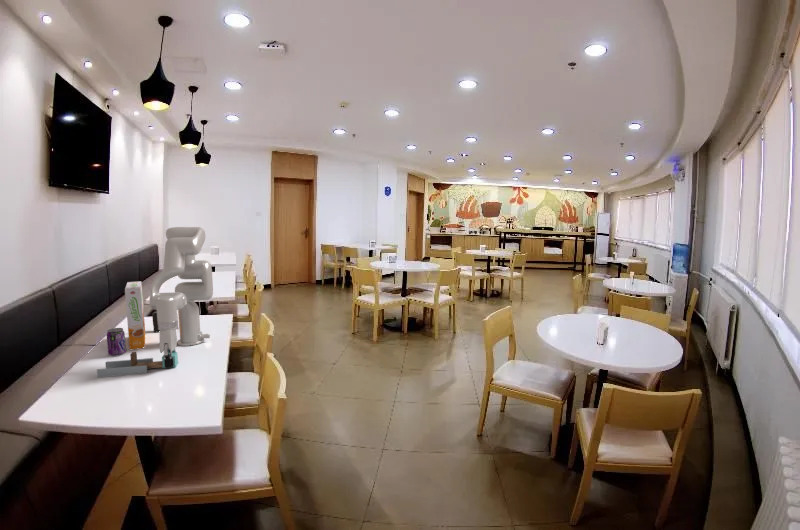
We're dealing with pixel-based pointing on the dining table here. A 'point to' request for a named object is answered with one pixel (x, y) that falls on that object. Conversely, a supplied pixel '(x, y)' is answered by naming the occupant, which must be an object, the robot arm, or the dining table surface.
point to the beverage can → (116, 341)
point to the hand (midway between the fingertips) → (170, 364)
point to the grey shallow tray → (123, 368)
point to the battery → (155, 322)
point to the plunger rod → (149, 364)
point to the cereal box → (135, 314)
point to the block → (175, 359)
